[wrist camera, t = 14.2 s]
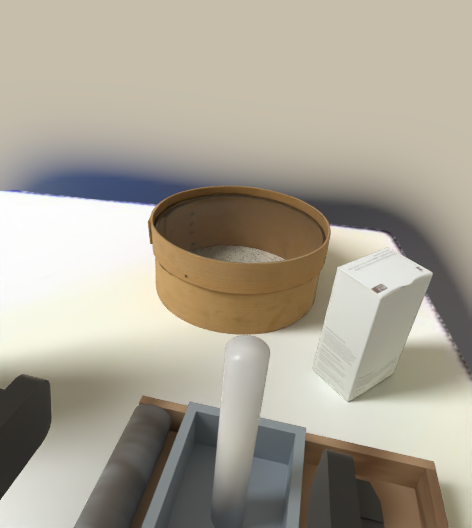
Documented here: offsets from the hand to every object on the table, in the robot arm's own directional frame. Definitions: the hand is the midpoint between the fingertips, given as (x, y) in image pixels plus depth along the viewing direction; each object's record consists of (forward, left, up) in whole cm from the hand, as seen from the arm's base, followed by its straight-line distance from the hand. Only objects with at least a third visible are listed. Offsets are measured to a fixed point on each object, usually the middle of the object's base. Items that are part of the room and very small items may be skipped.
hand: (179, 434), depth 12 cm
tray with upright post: (-8, +7, -23) cm, 26 cm away
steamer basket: (-40, +22, -25) cm, 52 cm away
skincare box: (-18, +27, -25) cm, 41 cm away
